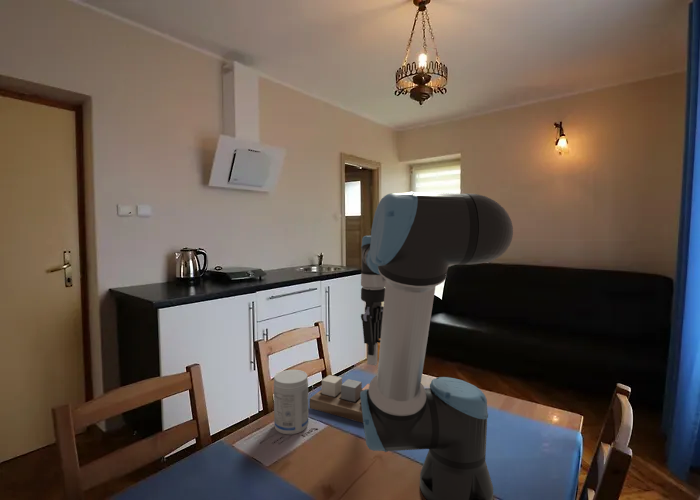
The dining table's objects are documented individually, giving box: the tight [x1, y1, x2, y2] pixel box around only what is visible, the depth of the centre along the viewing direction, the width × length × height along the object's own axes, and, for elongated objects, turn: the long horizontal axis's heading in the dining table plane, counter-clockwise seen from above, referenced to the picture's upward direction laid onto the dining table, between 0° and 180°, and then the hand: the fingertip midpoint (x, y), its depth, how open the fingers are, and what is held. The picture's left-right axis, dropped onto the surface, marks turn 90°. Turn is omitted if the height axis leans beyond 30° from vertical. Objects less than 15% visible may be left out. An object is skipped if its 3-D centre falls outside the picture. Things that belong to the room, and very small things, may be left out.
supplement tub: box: [273, 369, 309, 435], centre depth 102 cm, size 10×10×15 cm
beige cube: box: [321, 374, 343, 398], centre depth 117 cm, size 5×5×4 cm
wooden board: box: [309, 388, 363, 423], centre depth 114 cm, size 14×22×3 cm, turn 64°
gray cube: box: [341, 378, 363, 403], centre depth 114 cm, size 5×5×4 cm
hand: (372, 364), depth 110 cm, fingers closed
